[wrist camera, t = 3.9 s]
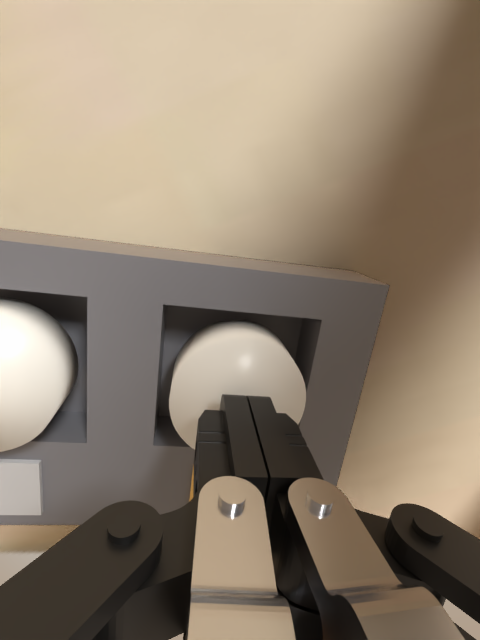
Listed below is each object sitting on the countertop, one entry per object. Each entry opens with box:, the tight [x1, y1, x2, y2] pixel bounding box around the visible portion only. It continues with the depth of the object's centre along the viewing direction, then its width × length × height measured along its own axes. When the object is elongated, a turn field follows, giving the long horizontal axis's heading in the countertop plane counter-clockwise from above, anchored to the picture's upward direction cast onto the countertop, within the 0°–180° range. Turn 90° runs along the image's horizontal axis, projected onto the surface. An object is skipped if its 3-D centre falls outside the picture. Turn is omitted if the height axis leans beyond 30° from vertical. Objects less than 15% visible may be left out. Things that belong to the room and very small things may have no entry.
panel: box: [0, 228, 389, 525], centre depth 13 cm, size 26×11×3 cm, turn 82°
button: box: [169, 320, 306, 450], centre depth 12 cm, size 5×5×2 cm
